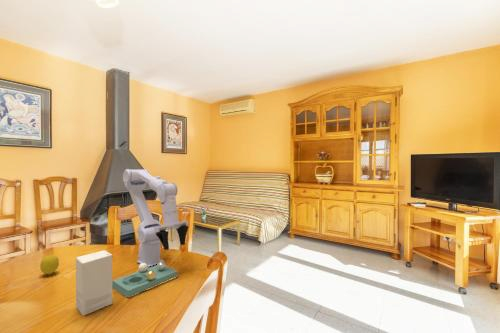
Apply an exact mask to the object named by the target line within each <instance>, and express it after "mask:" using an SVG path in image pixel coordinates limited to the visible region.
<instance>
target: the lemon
mask: <svg viewBox="0 0 500 333" xmlns="http://www.w3.org/2000/svg"><path fill="white" fill-rule="evenodd" d="M59 266H60V261H59V258H58V256H57V255H55V254H52V253H49V254H48V255H45V256H44V257H43V258H42V259H41V261H40V265H39V268H40V271H41V272H42V273H43V274H46V275H52V274H53V273H54V272H56V270H58V268H59Z"/></svg>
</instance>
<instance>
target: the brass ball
mask: <svg viewBox="0 0 500 333" xmlns="http://www.w3.org/2000/svg"><path fill="white" fill-rule="evenodd" d="M155 276H156V273H155V271H153V270H151V271H148V272H147V274H146V278H147V279H148V280H153V279H154V278H155Z"/></svg>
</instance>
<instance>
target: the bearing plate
mask: <svg viewBox="0 0 500 333" xmlns="http://www.w3.org/2000/svg"><path fill="white" fill-rule="evenodd" d="M151 270H153V271H155V273H156V276H155V278H154V279H153V280H148V279H147V278H146V274H147V272H148V271H151ZM178 274H179V271H178V270H176V269H175V268H172V267H169V266H167V265H166V267H165V269H164V270H161V271H160V270H158V269H157V265H154V266H151V267H148V268H147V270H146V271H144V272H141V271H139V270H138V271H136V272H133V273H130V274H127V275H124V276H121V277H118V278H116V279H114V280H113V279H112V289H114V290H115V291H116V292H118V293H120V294H121V295H122V294H123V295H122V296H124V295H125V296H126V297H125V296H124V297H125V298H127V297H130V296H132V295H135V294H137V293H140V292H142V291H144V290H146V289H148V288H151V287H153V286H155V285H158V284H160V283H162V282H165V281H167V280H169V279H171V278H174V277H176V276H179V275H178ZM142 293H143V292H142ZM140 294H141V293H140ZM135 296H136V295H135Z"/></svg>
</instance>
